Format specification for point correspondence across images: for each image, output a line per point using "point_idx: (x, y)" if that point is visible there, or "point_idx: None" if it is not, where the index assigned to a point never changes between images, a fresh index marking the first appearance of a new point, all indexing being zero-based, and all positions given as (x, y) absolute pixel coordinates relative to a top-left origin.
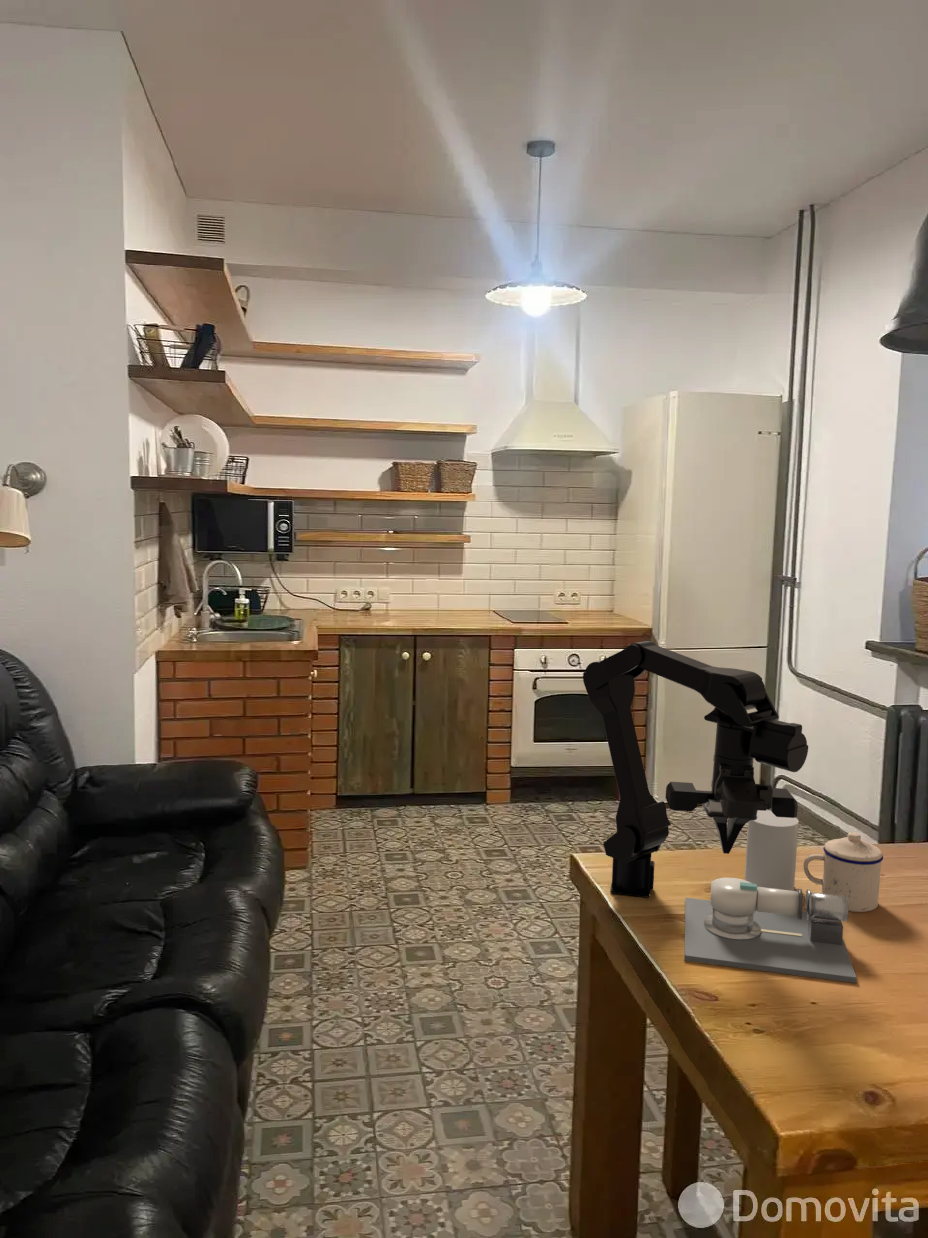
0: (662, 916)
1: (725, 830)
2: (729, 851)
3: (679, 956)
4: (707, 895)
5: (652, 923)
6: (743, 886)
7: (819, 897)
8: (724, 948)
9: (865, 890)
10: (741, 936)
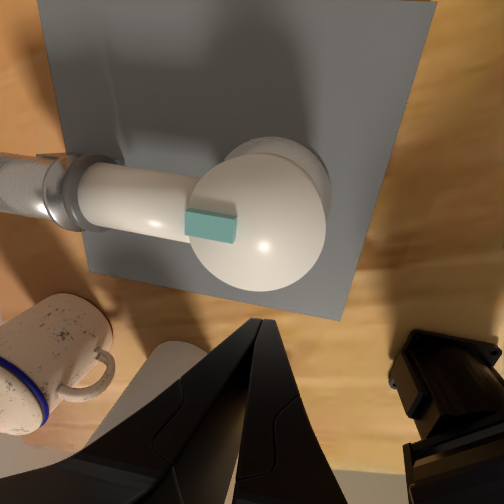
0: (407, 256)
1: (256, 423)
2: (248, 322)
3: (435, 38)
4: (289, 340)
5: (445, 220)
6: (225, 217)
7: (29, 183)
8: (308, 79)
9: (23, 314)
10: (257, 148)
